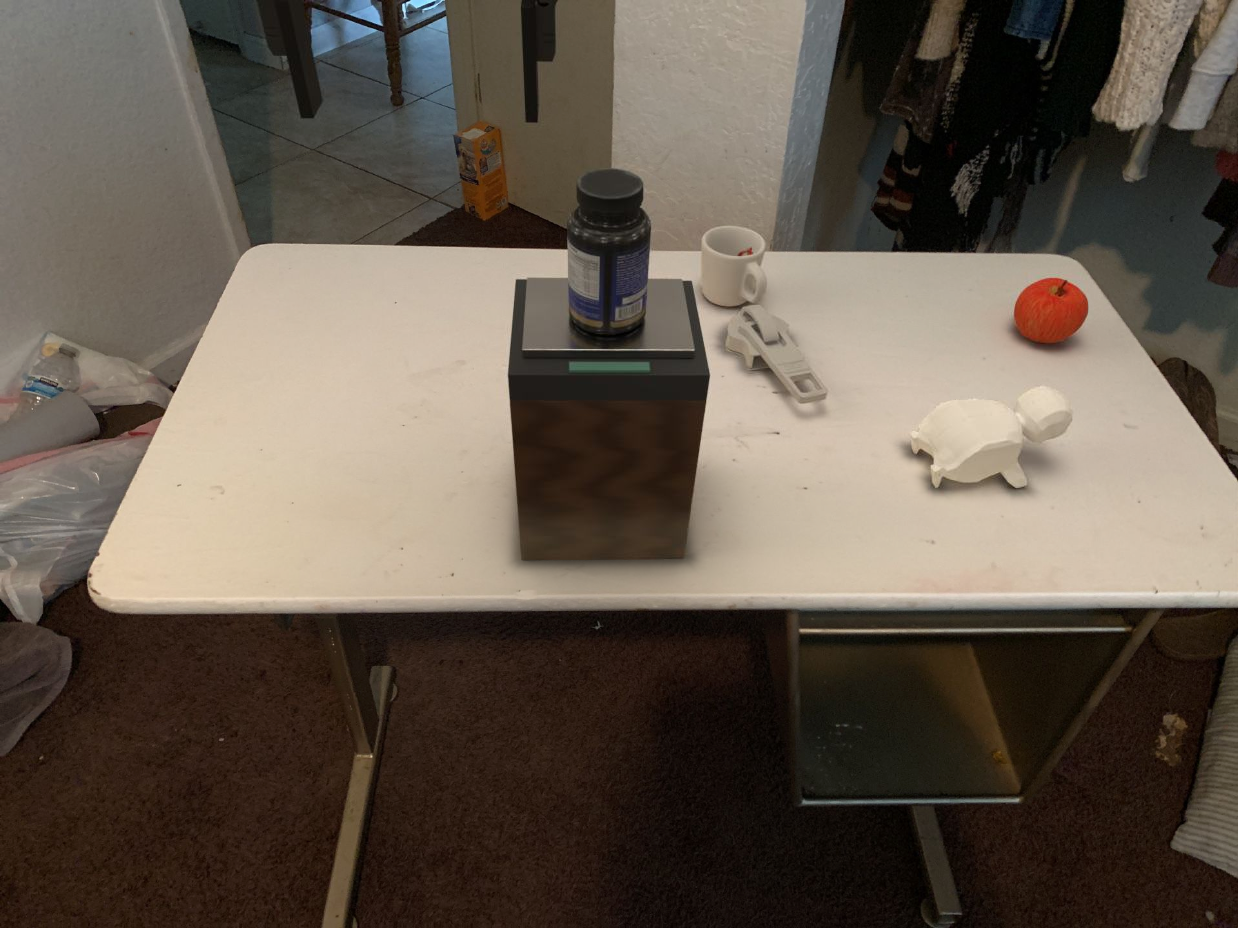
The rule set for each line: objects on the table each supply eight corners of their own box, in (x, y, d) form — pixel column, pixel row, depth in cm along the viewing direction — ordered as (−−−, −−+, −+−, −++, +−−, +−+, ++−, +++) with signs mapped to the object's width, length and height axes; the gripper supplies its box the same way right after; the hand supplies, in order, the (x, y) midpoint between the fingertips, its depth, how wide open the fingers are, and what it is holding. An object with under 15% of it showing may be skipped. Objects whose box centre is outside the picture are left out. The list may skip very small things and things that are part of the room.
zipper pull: (777, 423, 91) (784, 393, 88) (713, 330, 103) (717, 301, 100) (841, 410, 93) (850, 380, 90) (770, 320, 105) (776, 291, 102)
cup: (782, 314, 106) (793, 259, 101) (731, 331, 103) (740, 275, 97) (732, 274, 113) (741, 219, 107) (683, 288, 110) (689, 233, 104)
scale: (509, 400, 63) (507, 366, 61) (517, 304, 72) (515, 270, 70) (706, 400, 64) (711, 366, 61) (689, 305, 73) (692, 272, 71)
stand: (521, 560, 76) (509, 400, 63) (526, 461, 85) (517, 304, 72) (684, 558, 77) (706, 400, 64) (671, 460, 86) (689, 305, 73)
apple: (1061, 319, 108) (1088, 264, 102) (1079, 356, 102) (1109, 301, 96) (998, 313, 108) (1022, 259, 102) (1013, 350, 102) (1039, 295, 97)
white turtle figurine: (943, 516, 86) (1087, 465, 84) (938, 464, 80) (1093, 408, 78) (908, 459, 92) (1043, 410, 90) (901, 407, 86) (1045, 354, 84)
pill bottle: (642, 293, 68) (651, 163, 60) (649, 338, 64) (659, 203, 56) (566, 294, 68) (565, 162, 60) (568, 338, 63) (567, 203, 55)
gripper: (635, -354, 41) (619, 93, 55) (106, -381, 39) (235, 85, 54) (646, -354, 35) (625, 140, 50) (33, -385, 34) (199, 133, 49)
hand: (423, 112), depth 52 cm, fingers open, 13 cm apart
